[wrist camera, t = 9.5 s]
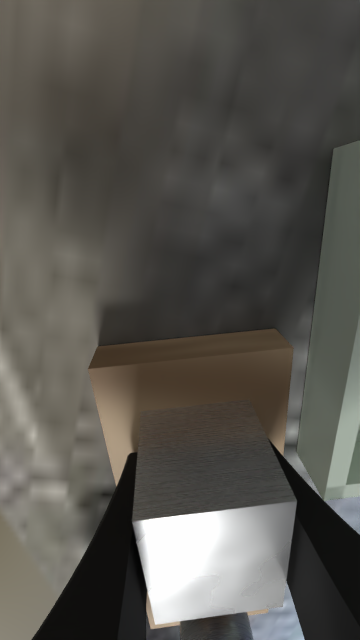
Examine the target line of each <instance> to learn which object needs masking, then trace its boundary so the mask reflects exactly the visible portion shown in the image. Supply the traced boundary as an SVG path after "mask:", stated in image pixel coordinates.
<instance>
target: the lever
mask: <svg viewBox="0 0 360 640" xmlns="http://www.w3.org/2000/svg"><path fill="white" fill-rule="evenodd" d="M180 640H253V636H252V631H251V627H250V622H249V618H248V613H247V612H242V613H235V614H227V615H220V616H213V617H206V618H199V619H192V620H185V621H180Z"/></svg>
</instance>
